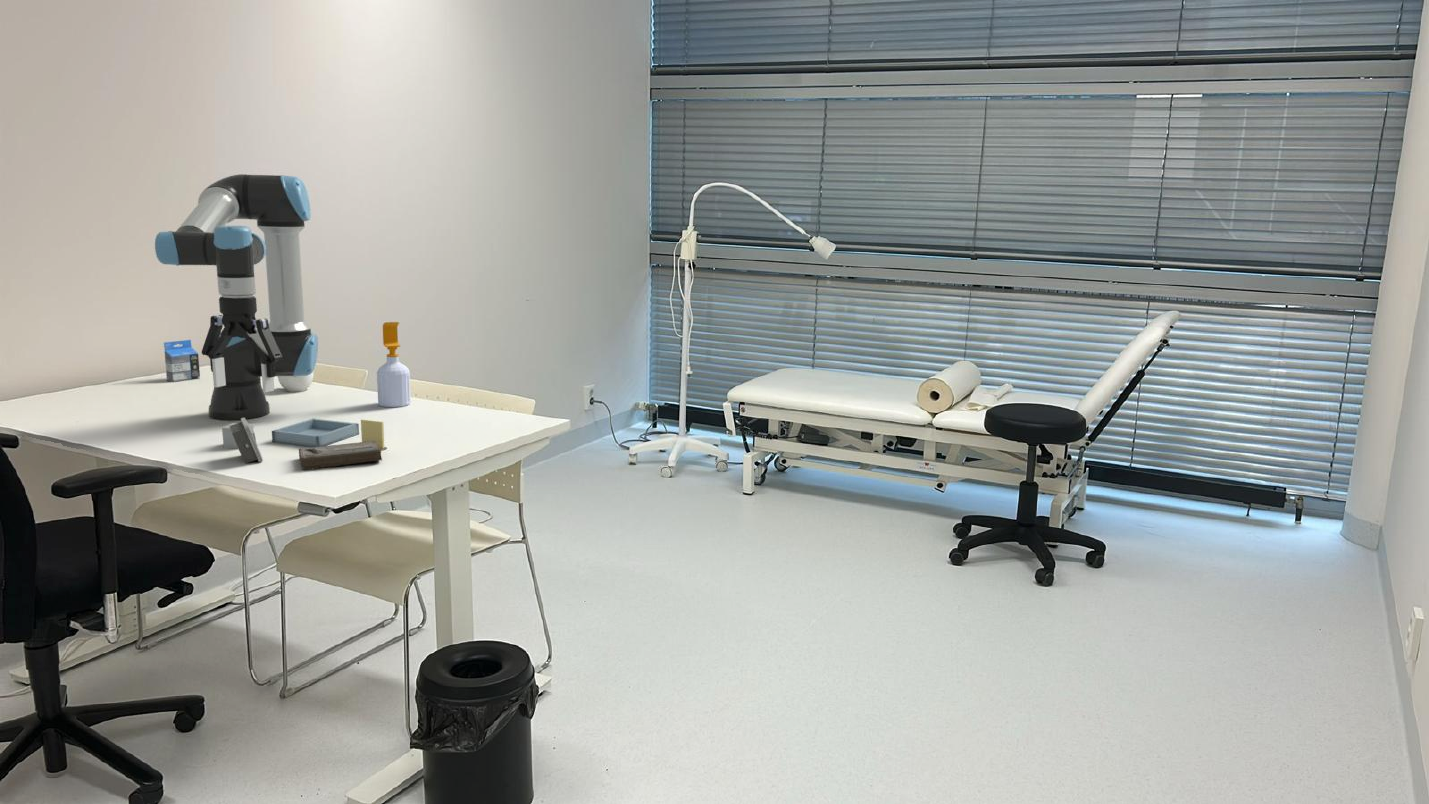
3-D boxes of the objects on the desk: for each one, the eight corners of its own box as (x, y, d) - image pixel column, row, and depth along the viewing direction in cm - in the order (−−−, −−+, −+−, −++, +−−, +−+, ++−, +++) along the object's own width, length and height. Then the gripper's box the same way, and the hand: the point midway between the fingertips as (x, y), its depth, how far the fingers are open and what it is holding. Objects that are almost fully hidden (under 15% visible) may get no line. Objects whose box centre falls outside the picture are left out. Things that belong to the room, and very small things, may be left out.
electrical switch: (263, 463, 221) (256, 424, 219) (238, 467, 219) (231, 428, 217) (259, 453, 229) (252, 415, 227) (235, 457, 227) (228, 419, 225)
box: (382, 462, 224) (381, 449, 223) (301, 471, 216) (300, 458, 216) (376, 452, 233) (375, 439, 232) (299, 460, 226) (298, 447, 225)
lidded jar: (270, 389, 299) (268, 360, 297) (302, 385, 307) (300, 356, 305) (290, 394, 293) (288, 364, 291) (322, 389, 301) (320, 360, 299)
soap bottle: (381, 408, 278) (377, 324, 273) (376, 402, 286) (372, 319, 281) (413, 406, 282) (410, 323, 277) (407, 400, 290) (404, 319, 285)
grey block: (223, 447, 233) (222, 427, 232) (234, 442, 238) (233, 422, 237) (243, 448, 233) (242, 428, 232) (254, 443, 238) (253, 423, 237)
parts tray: (272, 442, 239) (271, 431, 238) (313, 428, 253) (313, 418, 253) (319, 447, 235) (319, 436, 235) (359, 434, 249) (358, 423, 249)
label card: (359, 448, 236) (358, 420, 234) (365, 446, 238) (364, 418, 236) (380, 451, 234) (379, 423, 232) (386, 448, 236) (385, 420, 235)
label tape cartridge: (173, 382, 305) (169, 343, 303) (166, 380, 307) (162, 342, 305) (200, 378, 313) (197, 340, 310) (194, 376, 315) (190, 339, 312)
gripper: (179, 294, 216) (187, 387, 220) (271, 300, 209) (277, 396, 213) (205, 291, 223) (212, 381, 227) (295, 297, 216) (301, 390, 220)
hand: (244, 388), depth 220 cm, fingers open, 13 cm apart
